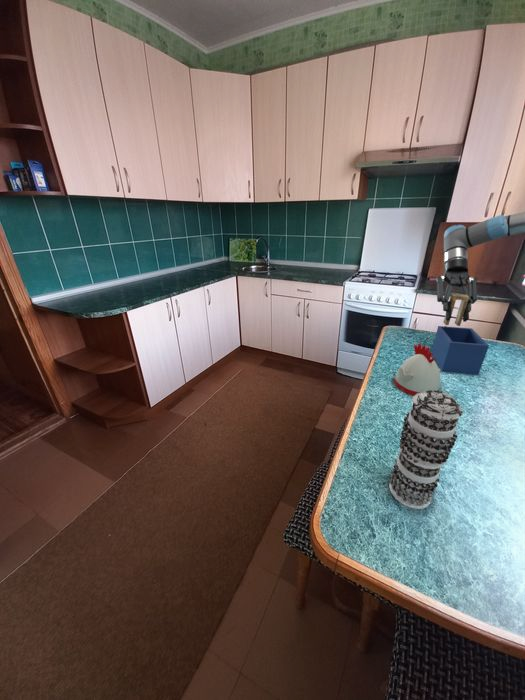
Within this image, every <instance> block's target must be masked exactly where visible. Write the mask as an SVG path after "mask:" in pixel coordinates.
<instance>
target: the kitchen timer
mask: <svg viewBox="0 0 525 700" xmlns="http://www.w3.org/2000/svg"><path fill="white" fill-rule="evenodd" d="M413 350H414V354H413V355H412V356H409V357H408V358H407V359H406V360H404V362H402V364H401V365H400V366H399V368H398V370H397V371H396V373H395V375H394V376H395V377H394V381H393V383H394V385H395V386H396V388H398V390H400V391H402V392H403V393H406V394H408V395H410V396H415V395H416V394H417V393H422V392H424V391H429V390H434V391H440V389H441V385H442V381H441V372H442V371H441V369H440V367H439V365H438V363H437V362H436V360H435V358H434V357H432V356H433V355H432V354H433V352H432V353H431V352H430V346H428V347H427V345H426V344H424V345H422V343H418V344H414V349H413Z"/></svg>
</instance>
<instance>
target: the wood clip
mask: <svg viewBox="0 0 525 700" xmlns="http://www.w3.org/2000/svg"><path fill="white" fill-rule="evenodd" d="M468 299H469V296H467V295H463V294H461V293H451V294H450V297H449V301H451V316H452V315H453V311H454V308H455V305H456V301H460V304H459V307H458V310H457V313H456V317H455V320H454V324H455V325H456V326H457V327H461V324H462V322H463V315H464V312H465V309H466V306H467V302H468ZM450 322H451V318H450V319H449V320H448V321H447V320H446V314H445V315H444V319H443V324H444V326H449V325H450Z"/></svg>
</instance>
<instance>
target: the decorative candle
mask: <svg viewBox="0 0 525 700" xmlns="http://www.w3.org/2000/svg"><path fill="white" fill-rule="evenodd" d="M411 402H412V406H411V408H410V411H409V412H407V413H406V416H404V417H403V421H404V422H402V427H401V428H402V430H401V432H400V434H401V435H400V439H399V446H398V447H399V450H400V451H399V452H398V456H397V458H396V459H395V460H394V464H393V469H392V470H391V475H390V480H389V485H388V487H389V490H390V493H391V494H392V496H393V497H394V499H395V500H396V501H397V502H399V503H400V504H402V505H403V506H406V507H408V508H410V509H416V510H422V509H425V508H428V507H429V506H430V504H431V503H432V499H433V498H434V495H433V494H435V493H436V488H437V487H438V483H439V482H440V474H441V468H442V467H444V465H445V464H446V463H447V461H448V460H449V457H450V455H451V452H452V449H453V448H454V446H455V445H456V443H455V442H457V438H458V434H457V432H456V431H457V427H458V424H457V423H458V421H459V418H461V417H462V416H463V408H462V407H461V406H460V404H459V403H458V402H457V400H456V399H455V398H454V397H452V396H451V395H449V394H448V393H446V392H444V391H440V390H439V391H434V390H429V391H424V392H422V393H417V394H416V395H415V396H414V395H412V400H411Z"/></svg>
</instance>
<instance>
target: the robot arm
mask: <svg viewBox="0 0 525 700" xmlns="http://www.w3.org/2000/svg"><path fill="white" fill-rule="evenodd" d="M521 234H525V211H521V212H517V213H512V214H509V215H504V214H499V215H497V216H493V217H490V218H488V219H486V220H483V221H480V222H478V223H476V224H473V225H471V226H467V227H466V226H465V225H463V224H457V225H456V224H455V225H451V226H450V227H447V229H446V230H445V231H444V233H443V241H442V242H443V275H437V277H436V278H435V284H436V302H438V303H441V305H442V311H443V312H445V315H446V320H447V321H448V320H449V319H450V320H451V319H452V315H451V301H450V297H451V294H452V290H453V287H458V290H459V291H460V294H463V295H467V296H469V299H468V302H467V306H466V309H465V312H464V315H463V318H462V322H464V323H466V322H467V321H468V320H469V319H470V312H471V311H472V305H474V304H475V303H476V302H477V301H478V289H477V288H478V287H477V286H478V285H477V282H478V280H479V278H478V276H474V277H473V276H470V274H469V262H468V261H469V258H468V249H469V248H473V247H476V246H480V245H482V244H485V243H488V242H491V241H494V240H498V239H500V238H505V237H511V236H516V235H521ZM444 282H445V283H446V284H447V285H446V289H445V293H444ZM467 283H468V284H469V289H468V286H467Z"/></svg>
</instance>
